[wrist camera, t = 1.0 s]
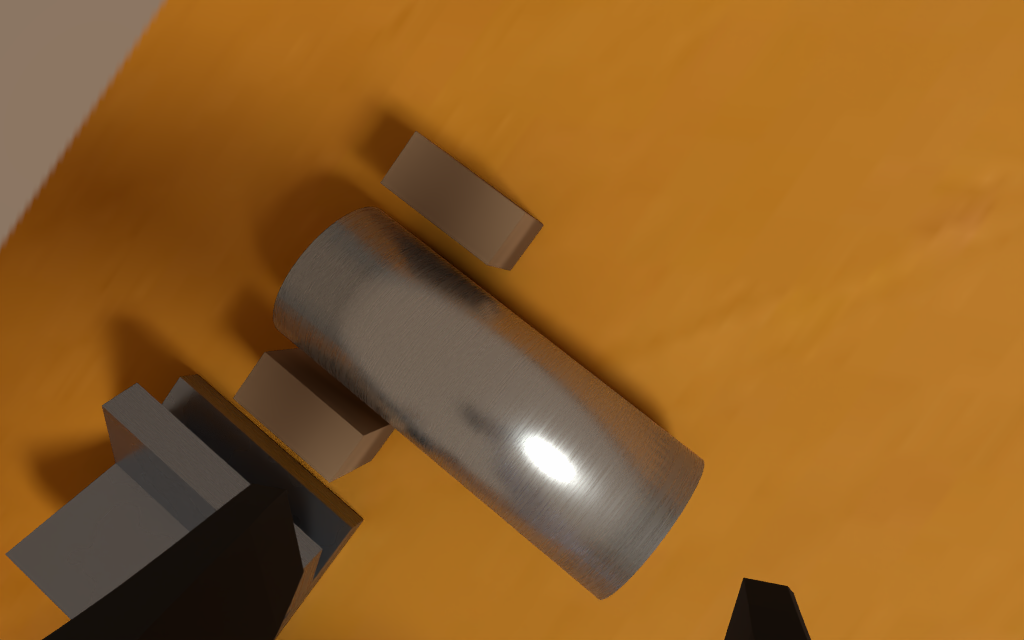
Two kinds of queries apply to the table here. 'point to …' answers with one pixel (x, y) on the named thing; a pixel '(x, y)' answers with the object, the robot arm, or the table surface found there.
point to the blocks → (321, 397)
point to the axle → (488, 398)
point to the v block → (173, 496)
